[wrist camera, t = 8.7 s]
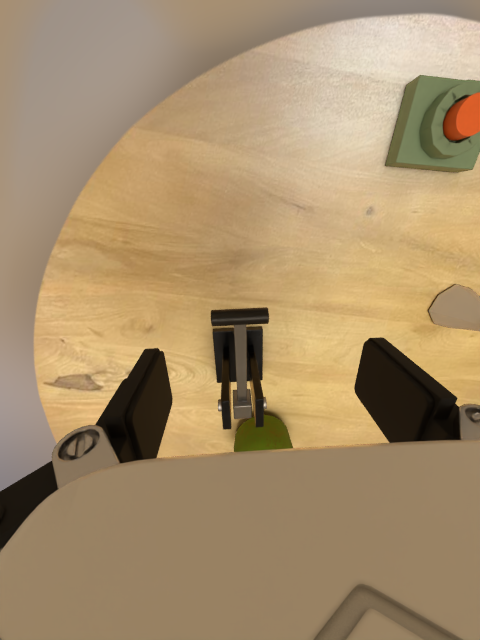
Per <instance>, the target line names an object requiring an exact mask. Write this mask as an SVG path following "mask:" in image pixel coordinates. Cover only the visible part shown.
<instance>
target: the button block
mask: <svg viewBox="0 0 480 640" xmlns="http://www.w3.org/2000/svg"><path fill="white" fill-rule="evenodd" d="M479 92H480V81H475V80H458V79H450V78H441V77H433V76H424V75H419V76H418V77H417V78H415V79H414V80H413V81H411V82H410V83H409V84H407V85H406V89H405V92H404V96H403V100H402V104H401V108H400V111H399V115H398V119H397V123H396V127H395V130H394V134H393V138H392V142H391V146H390V149H389V153H388V157H387V161H386V165H385V166H392V167H403V168H414V169H425V170H436V171H447V172H462V171H468V170H472V169H473V168H474V165H475V163H476V160H477V157H478V155H479V152H480V131H479V132H478V133H476V134H475V135H472V136H469V137H466V138H463V139H460V140H456V141H452V140H449V139H447V138H446V136H445V135H444V132H443V122H444V119H445V116H446V114H447V112H448V111H449V109H450V108H451V107H452V106H453V105H454V104H456V103H457V102H459V101H461V100H463V99H465V98H467V97H469V96H471V95H473V94H475V93H479Z"/></svg>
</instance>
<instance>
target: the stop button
mask: <svg viewBox="0 0 480 640" xmlns="http://www.w3.org/2000/svg"><path fill="white" fill-rule="evenodd" d="M479 131H480V92H479V93H475V94H473V95H471V96H469V97H467V98H465V99H463V100H461V101H459V102H457V103H456V104H454V105H453V106H452V107H451V108H450V109H449V111H448V112H447V114H446V116H445V119H444V122H443V132H444V135H445V136H446V138H447V139H449V140H452V141H456V140H460V139H463V138H466V137H469V136H472V135H475V134H476V133H478V132H479Z"/></svg>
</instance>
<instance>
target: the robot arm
mask: <svg viewBox="0 0 480 640" xmlns="http://www.w3.org/2000/svg"><path fill="white" fill-rule="evenodd" d="M355 393H356V395H357V397H358V398H359V399H360V401H361V402H362V404H363V405H364V407H365V408H366V409H367V411H368V412H369V414H370V415H371V417H372V418H373V419H374V421H375V422H376V424H377V425H378V427H379V428H380V430H381V431H382V432H383V434H384V435H385V437H386V438H387V440H388V441H389V442H390V443H378V444H359V445H342V446H325V447H308V448H292V449H276V450H260V451H245V452H230V453H215V454H200V455H188V456H175V457H164V458H156V457H157V454H158V450H159V447H160V444H161V440H162V437H163V433H164V430H165V426H166V423H167V420H168V416H169V413H170V409H171V406H172V393H171V388H170V382H169V377H168V372H167V367H166V361H165V356H164V352H163V351H160V350H159V349H158V348H154V349H145V350H144V351H143V353H142V355H141V356H140V358H139V360H138V361H137V363H136V364H135V366H134V368H133V369H132V371H131V373H130V374H129V376H128V378H127V379H124V380H123V381H122V383H121V384H120V386H119V388H118V389H117V391H116V392H115V394H114V396H113V397H112V399H111V400H110V402H109V404H108V405H107V407H106V408H105V410H104V412H103V413H102V415H101V416H100V418H99V420H98V421H97V423H96V425H88V426H84V427H81V428H78V429H76V430H74V431H72V432H70V433H69V434H67V435H66V436H65V437H64V438H62V439H61V440H60V441H59V442H58V444H57V445H56V446H55V448H54V450H53V452H52V461H51V462H49V463H47V464H46V465H44V466H42V467H41V468H39V469H37V470H36V471H34V472H32V473H31V474H29V475H27V476H26V477H24V478H22V479H20V480H19V481H17V482H16V483H14V484H12V485H10V486H9V487H7V488H6V489H4V490H2V491H0V640H480V405H477V404H463V405H462V406H460V407H458V406H457V405H456V404H455V402H456V400H457V397H456V396H454V395H453V394H452V393H451V392H450V391H448V390H447V389H446V388H445V387H443V386H442V385H441V384H440V383H439V382H437V381H436V380H435V379H434V378H432V377H431V376H430V375H429V374H427V373H426V372H425V371H424V370H423V369H421V368H420V367H419V366H418V365H416V364H415V363H414V362H413V361H412V360H410V359H409V358H408V357H407V356H405V355H404V354H403V353H402V352H400V351H399V350H398V349H397V348H396V347H394V346H393V345H392V344H391V343H389V342H388V341H387V340H386V339H384V338H369V339H368V340H367V341H366V342H365V343H364V345H363V350H362V355H361V359H360V364H359V368H358V373H357V378H356V382H355Z"/></svg>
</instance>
